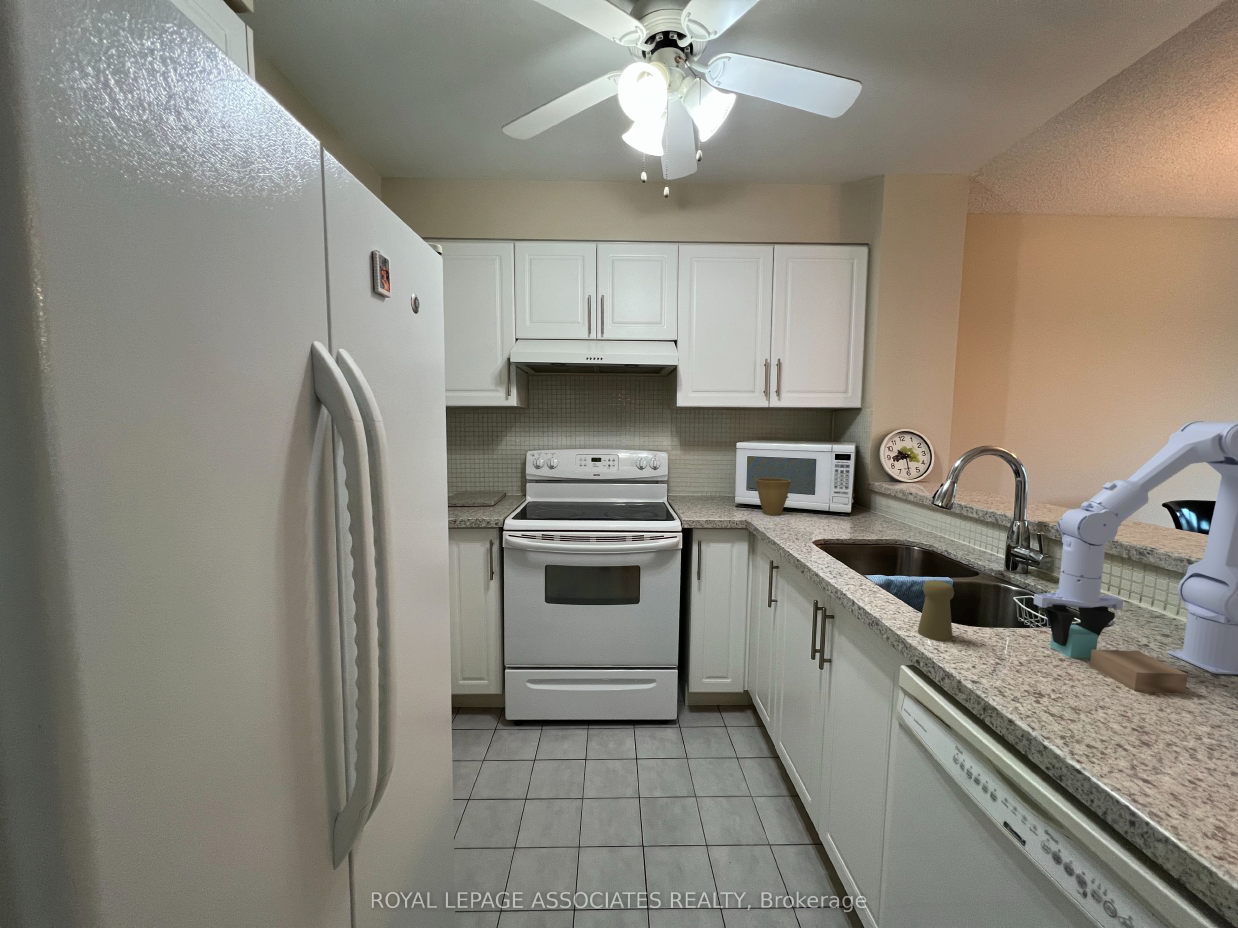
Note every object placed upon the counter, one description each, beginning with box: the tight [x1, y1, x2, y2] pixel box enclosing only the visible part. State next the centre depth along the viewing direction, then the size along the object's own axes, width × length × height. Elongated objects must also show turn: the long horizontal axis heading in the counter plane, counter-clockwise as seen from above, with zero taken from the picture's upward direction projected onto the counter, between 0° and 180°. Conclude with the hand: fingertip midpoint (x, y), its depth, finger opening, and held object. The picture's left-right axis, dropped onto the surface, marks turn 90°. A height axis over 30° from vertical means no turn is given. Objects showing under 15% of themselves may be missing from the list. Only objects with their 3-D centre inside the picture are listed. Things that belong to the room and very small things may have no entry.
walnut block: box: [1089, 649, 1189, 694], centre depth 85 cm, size 8×8×4 cm
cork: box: [917, 579, 955, 642], centre depth 101 cm, size 6×6×11 cm
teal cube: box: [1049, 624, 1099, 659], centre depth 94 cm, size 4×4×4 cm
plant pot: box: [756, 477, 792, 516], centre depth 228 cm, size 15×15×16 cm
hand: (1073, 644), depth 94 cm, fingers closed on teal cube, 4 cm apart
